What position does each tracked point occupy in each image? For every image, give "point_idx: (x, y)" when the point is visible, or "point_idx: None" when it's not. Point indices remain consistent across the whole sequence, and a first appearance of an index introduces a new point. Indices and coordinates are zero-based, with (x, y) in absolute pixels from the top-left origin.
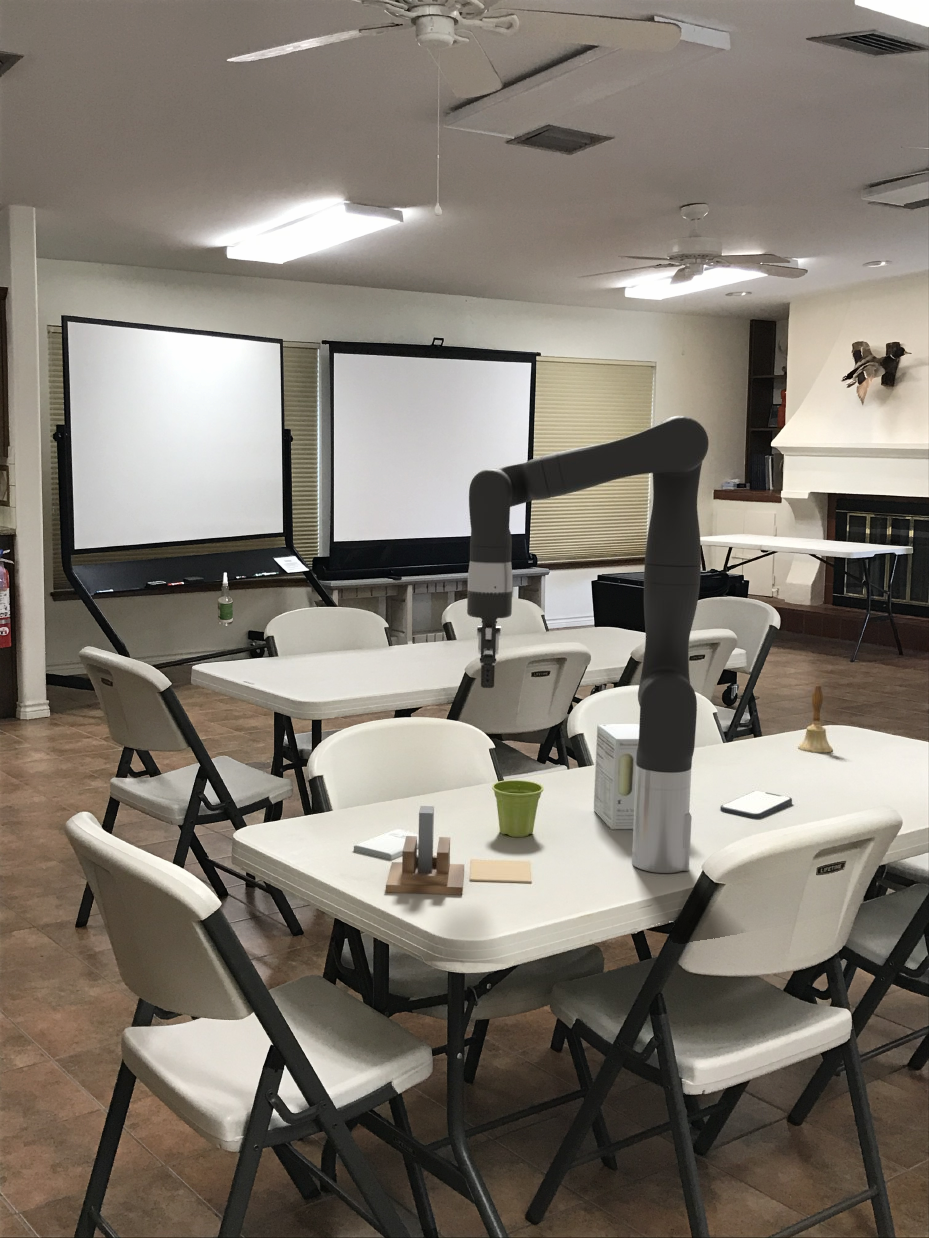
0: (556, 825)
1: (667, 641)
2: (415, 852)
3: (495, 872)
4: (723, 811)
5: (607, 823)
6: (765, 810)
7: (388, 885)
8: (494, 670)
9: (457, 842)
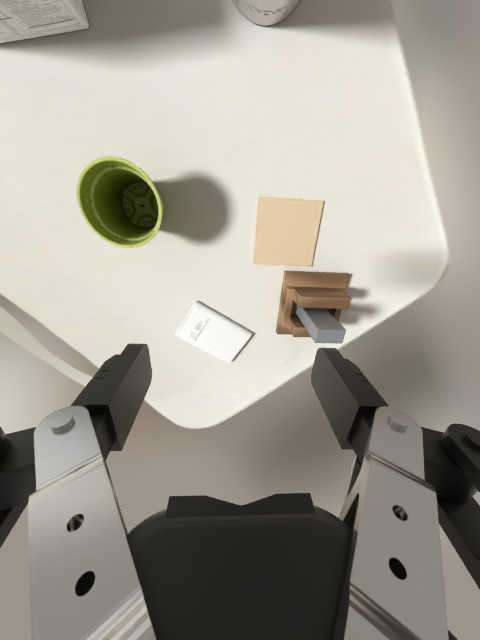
0: (95, 139)
1: None
2: None
3: (294, 240)
4: None
5: (65, 31)
6: None
7: None
8: (133, 361)
9: (194, 276)
